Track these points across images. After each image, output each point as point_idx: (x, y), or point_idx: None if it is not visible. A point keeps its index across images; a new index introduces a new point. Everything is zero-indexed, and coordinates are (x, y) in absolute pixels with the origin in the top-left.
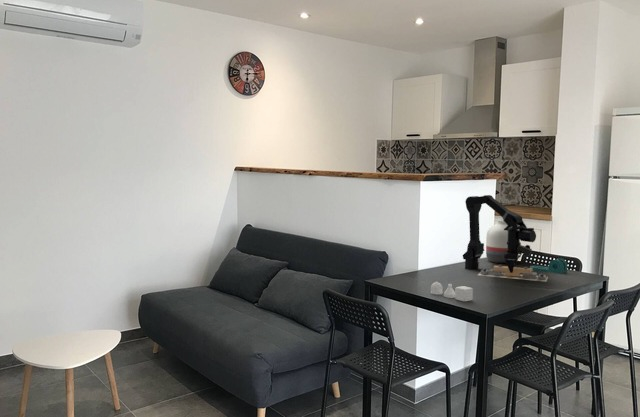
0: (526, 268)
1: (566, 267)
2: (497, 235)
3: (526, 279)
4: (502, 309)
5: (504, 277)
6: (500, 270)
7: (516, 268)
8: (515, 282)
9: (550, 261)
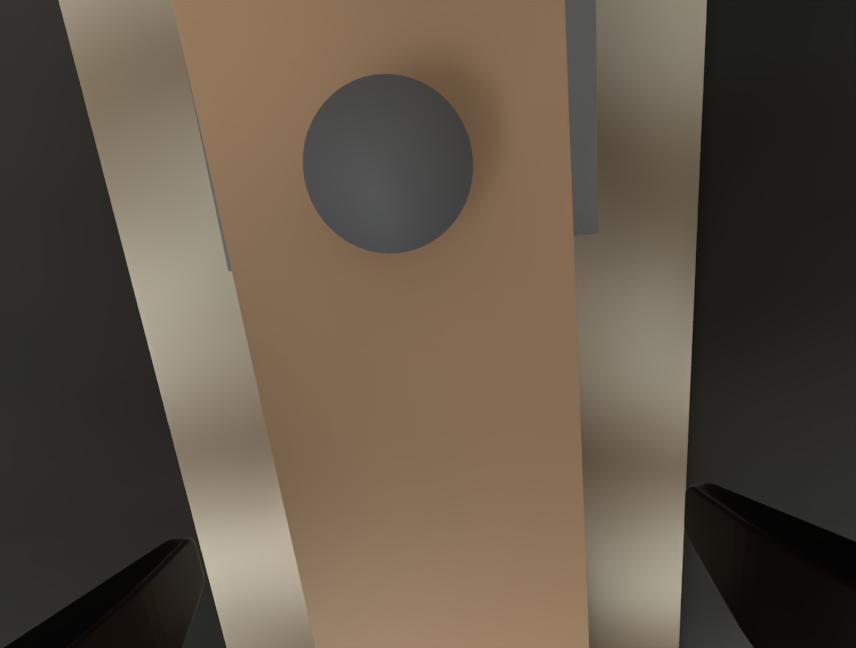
0: (449, 124)
1: None
2: None
3: (680, 111)
4: None
5: (670, 542)
6: None
7: (542, 485)
8: (829, 298)
9: None
